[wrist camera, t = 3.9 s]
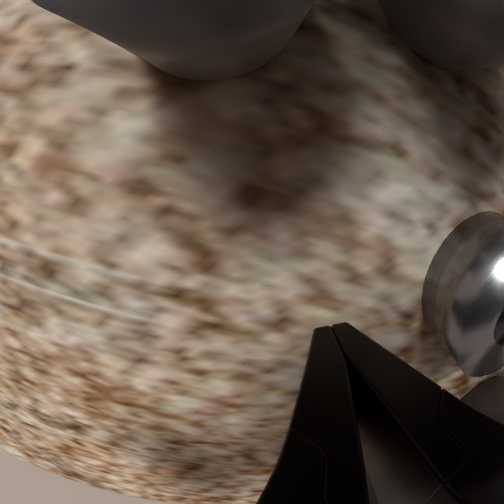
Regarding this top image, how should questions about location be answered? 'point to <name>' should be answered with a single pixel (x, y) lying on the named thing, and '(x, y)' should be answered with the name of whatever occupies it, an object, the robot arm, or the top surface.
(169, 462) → the top surface
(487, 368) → the grey metallic short cylinder
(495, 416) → the spacers
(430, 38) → the spacers
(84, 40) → the top surface
